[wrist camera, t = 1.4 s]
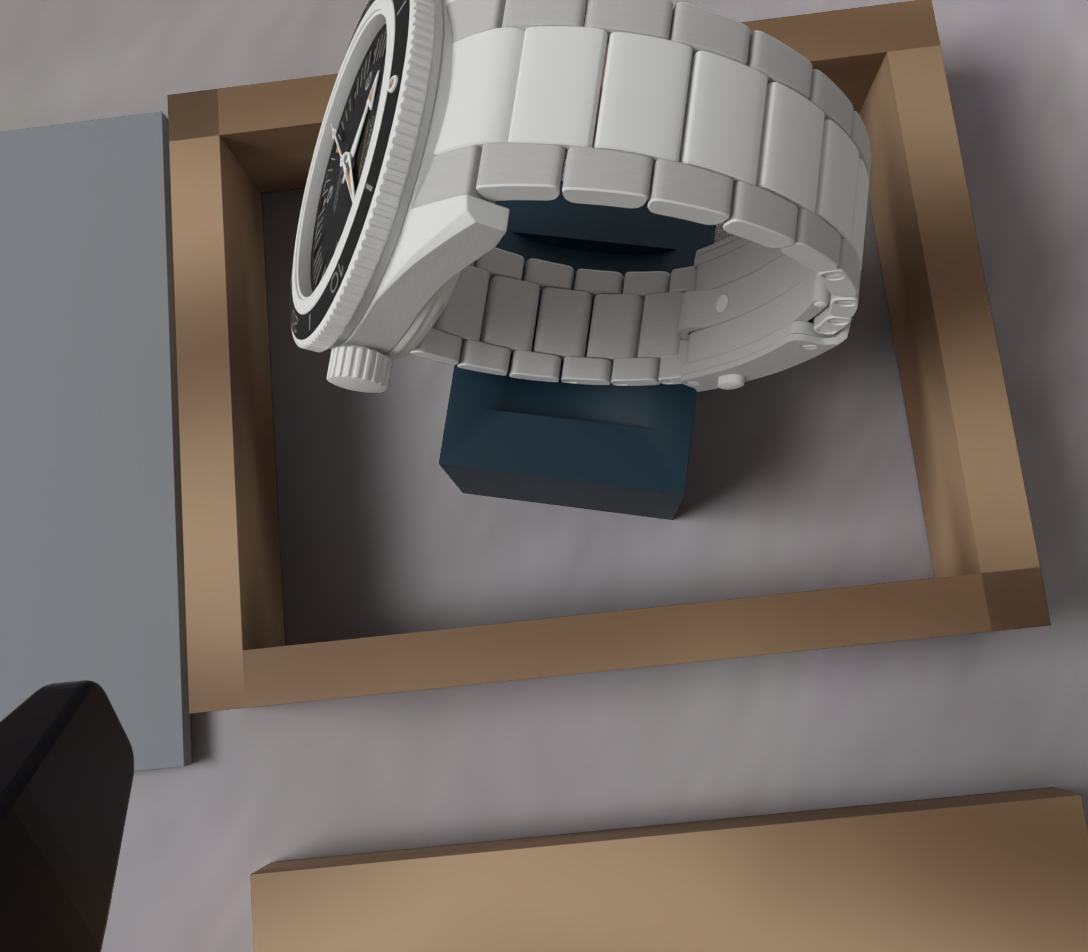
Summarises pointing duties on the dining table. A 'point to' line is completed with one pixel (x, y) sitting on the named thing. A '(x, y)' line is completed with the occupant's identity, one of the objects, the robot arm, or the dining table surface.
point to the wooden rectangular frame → (622, 636)
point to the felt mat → (92, 427)
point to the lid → (712, 886)
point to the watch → (577, 230)
